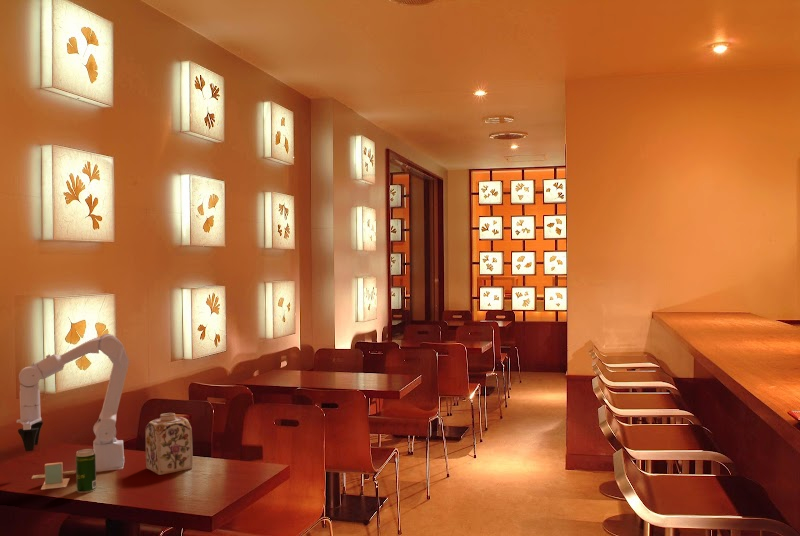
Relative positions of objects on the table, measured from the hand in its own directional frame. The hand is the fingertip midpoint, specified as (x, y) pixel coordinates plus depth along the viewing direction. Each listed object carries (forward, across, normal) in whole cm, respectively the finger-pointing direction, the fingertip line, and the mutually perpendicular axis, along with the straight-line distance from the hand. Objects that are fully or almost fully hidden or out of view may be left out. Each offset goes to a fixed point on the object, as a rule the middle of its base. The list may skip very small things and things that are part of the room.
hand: (31, 447), depth 228 cm
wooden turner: (+10, 0, +6) cm, 12 cm away
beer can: (+10, +21, +18) cm, 29 cm away
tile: (+10, +9, +7) cm, 15 cm away
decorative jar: (+10, +5, +41) cm, 43 cm away
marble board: (+10, +10, +8) cm, 16 cm away
